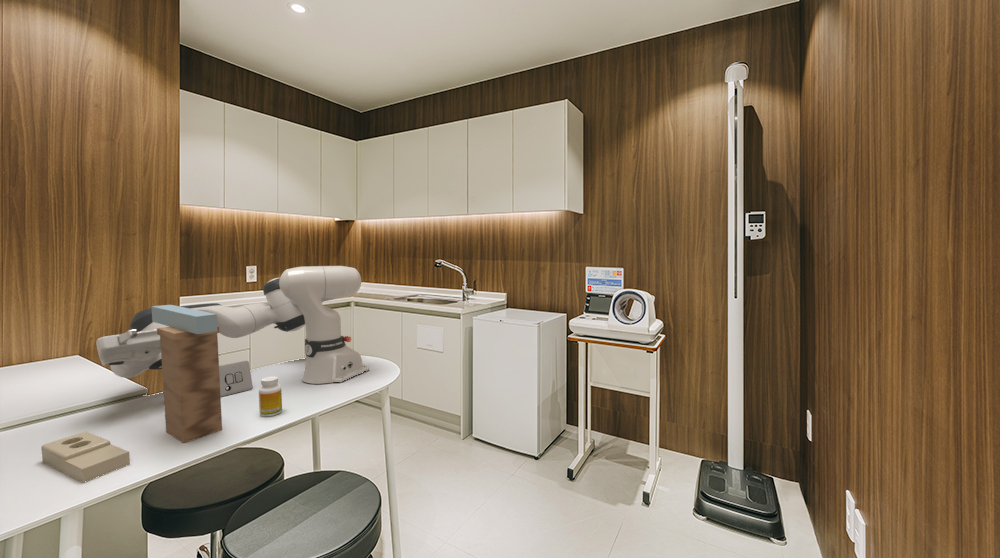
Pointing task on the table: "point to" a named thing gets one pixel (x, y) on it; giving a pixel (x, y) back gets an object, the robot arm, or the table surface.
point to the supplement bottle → (270, 397)
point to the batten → (185, 318)
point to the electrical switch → (235, 378)
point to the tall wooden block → (190, 383)
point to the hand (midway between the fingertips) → (156, 329)
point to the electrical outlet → (84, 456)
